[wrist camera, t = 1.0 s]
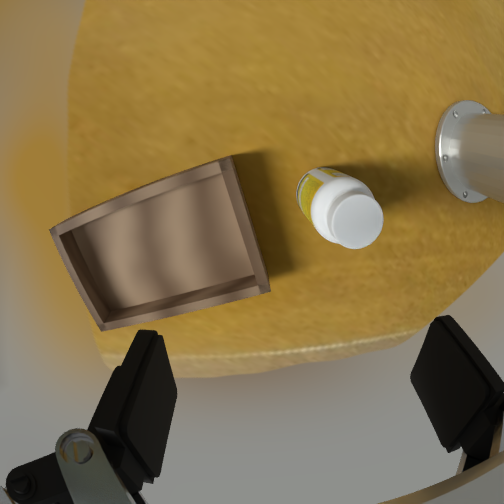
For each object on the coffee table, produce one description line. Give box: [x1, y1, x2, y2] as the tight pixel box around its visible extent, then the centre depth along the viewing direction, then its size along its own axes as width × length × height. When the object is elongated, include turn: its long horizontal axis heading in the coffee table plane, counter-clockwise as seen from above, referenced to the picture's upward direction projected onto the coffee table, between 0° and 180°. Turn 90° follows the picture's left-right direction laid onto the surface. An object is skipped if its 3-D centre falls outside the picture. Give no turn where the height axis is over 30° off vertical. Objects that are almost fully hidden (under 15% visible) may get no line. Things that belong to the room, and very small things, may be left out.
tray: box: [50, 155, 271, 332], centre depth 28 cm, size 20×13×4 cm, turn 106°
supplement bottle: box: [296, 167, 383, 249], centre depth 24 cm, size 5×5×10 cm
